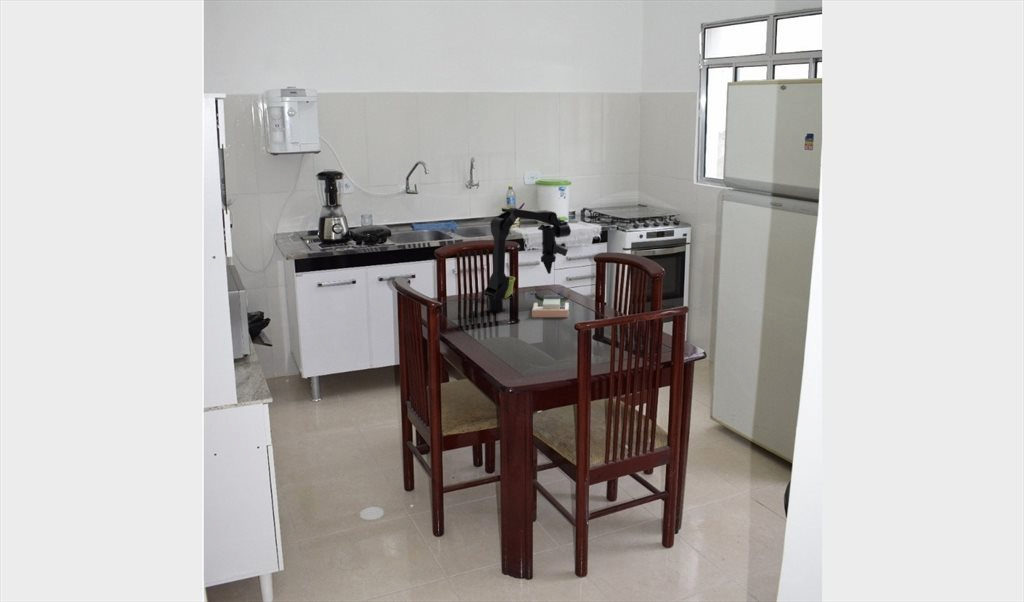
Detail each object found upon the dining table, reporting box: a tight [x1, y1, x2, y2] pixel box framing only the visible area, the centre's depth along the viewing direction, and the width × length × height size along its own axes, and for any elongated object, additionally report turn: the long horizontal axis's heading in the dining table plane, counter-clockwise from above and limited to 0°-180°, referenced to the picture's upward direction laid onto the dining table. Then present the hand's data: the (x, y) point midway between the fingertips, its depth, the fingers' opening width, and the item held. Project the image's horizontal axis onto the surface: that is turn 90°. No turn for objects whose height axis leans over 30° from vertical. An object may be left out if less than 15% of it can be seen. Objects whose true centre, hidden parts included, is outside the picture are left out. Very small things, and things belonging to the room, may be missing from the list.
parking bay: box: [531, 302, 570, 318], centre depth 334 cm, size 16×15×3 cm
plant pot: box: [504, 275, 516, 299], centre depth 360 cm, size 9×9×9 cm
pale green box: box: [542, 294, 561, 309], centre depth 336 cm, size 10×7×5 cm
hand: (549, 273), depth 351 cm, fingers closed
